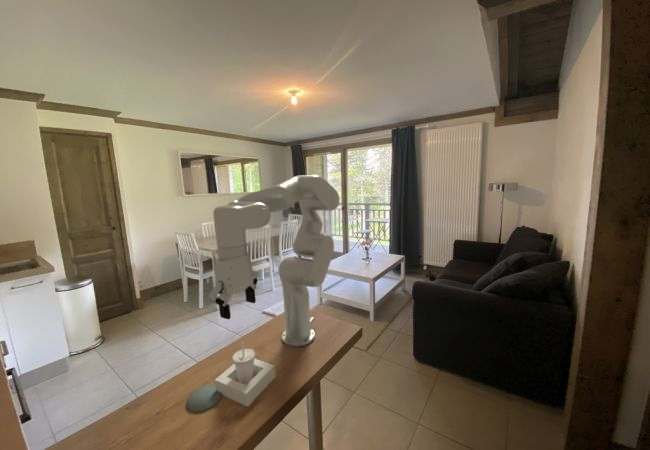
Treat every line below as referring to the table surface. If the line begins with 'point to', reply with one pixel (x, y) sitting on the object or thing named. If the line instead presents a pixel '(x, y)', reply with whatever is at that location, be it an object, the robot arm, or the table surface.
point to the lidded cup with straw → (244, 364)
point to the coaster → (203, 398)
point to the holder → (250, 391)
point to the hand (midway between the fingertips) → (239, 309)
